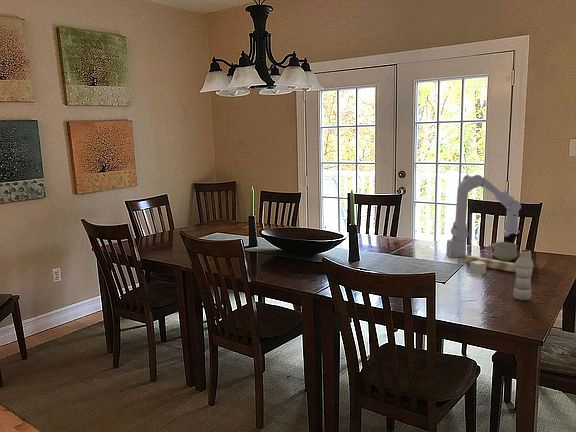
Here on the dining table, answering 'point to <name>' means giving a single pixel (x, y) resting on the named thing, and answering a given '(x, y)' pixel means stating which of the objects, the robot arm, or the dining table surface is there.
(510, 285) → the dining table surface
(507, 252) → the teacup
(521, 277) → the plastic bottle
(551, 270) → the dining table surface
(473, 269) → the grey block
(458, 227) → the robot arm
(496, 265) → the bar
